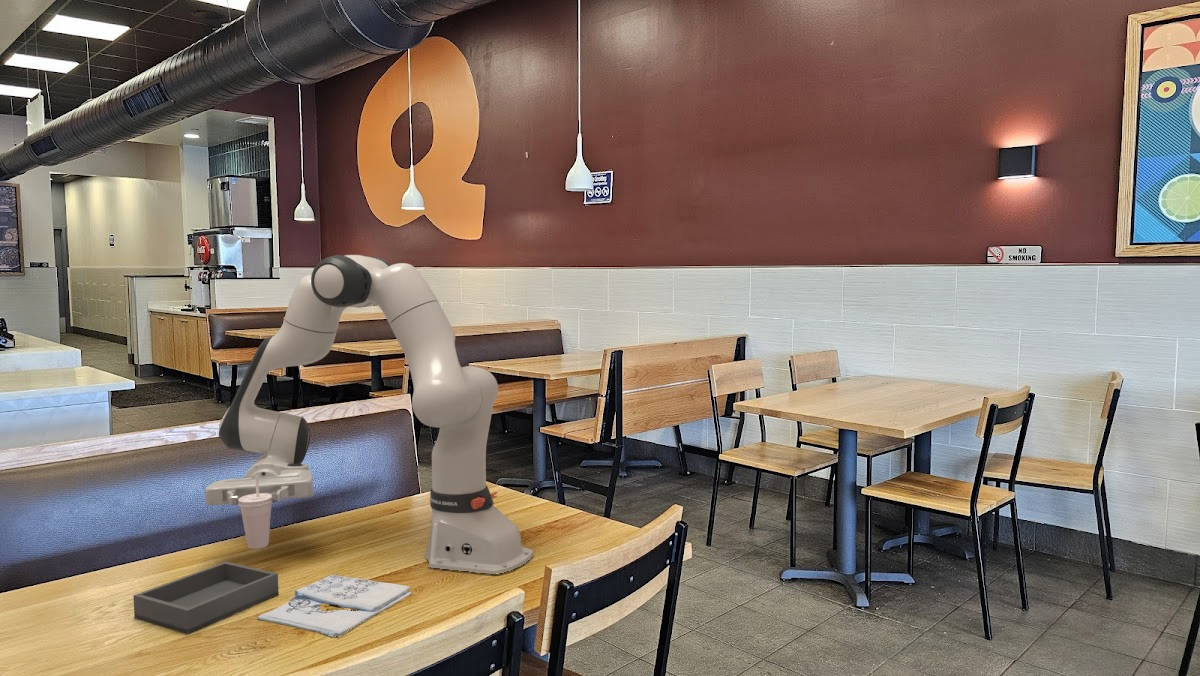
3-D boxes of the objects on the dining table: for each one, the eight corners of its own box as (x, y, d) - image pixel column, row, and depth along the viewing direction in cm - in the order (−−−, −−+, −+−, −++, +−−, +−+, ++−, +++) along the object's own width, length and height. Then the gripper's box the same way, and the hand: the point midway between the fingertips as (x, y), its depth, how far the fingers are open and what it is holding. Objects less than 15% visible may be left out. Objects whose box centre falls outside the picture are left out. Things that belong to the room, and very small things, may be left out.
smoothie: (262, 552, 150) (258, 480, 149) (233, 550, 152) (228, 479, 151) (282, 541, 157) (278, 472, 156) (254, 539, 158) (250, 471, 157)
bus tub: (278, 594, 144) (277, 573, 143) (188, 634, 128) (187, 610, 127) (226, 581, 150) (225, 561, 150) (134, 618, 134) (133, 595, 134)
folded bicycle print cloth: (414, 596, 144) (414, 585, 144) (336, 643, 126) (335, 630, 125) (334, 580, 152) (334, 570, 152) (249, 622, 133) (248, 610, 133)
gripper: (212, 471, 163) (195, 488, 150) (315, 463, 168) (308, 479, 155) (213, 501, 164) (197, 520, 150) (317, 492, 169) (310, 510, 155)
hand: (254, 499), depth 153 cm, fingers closed on smoothie, 6 cm apart
